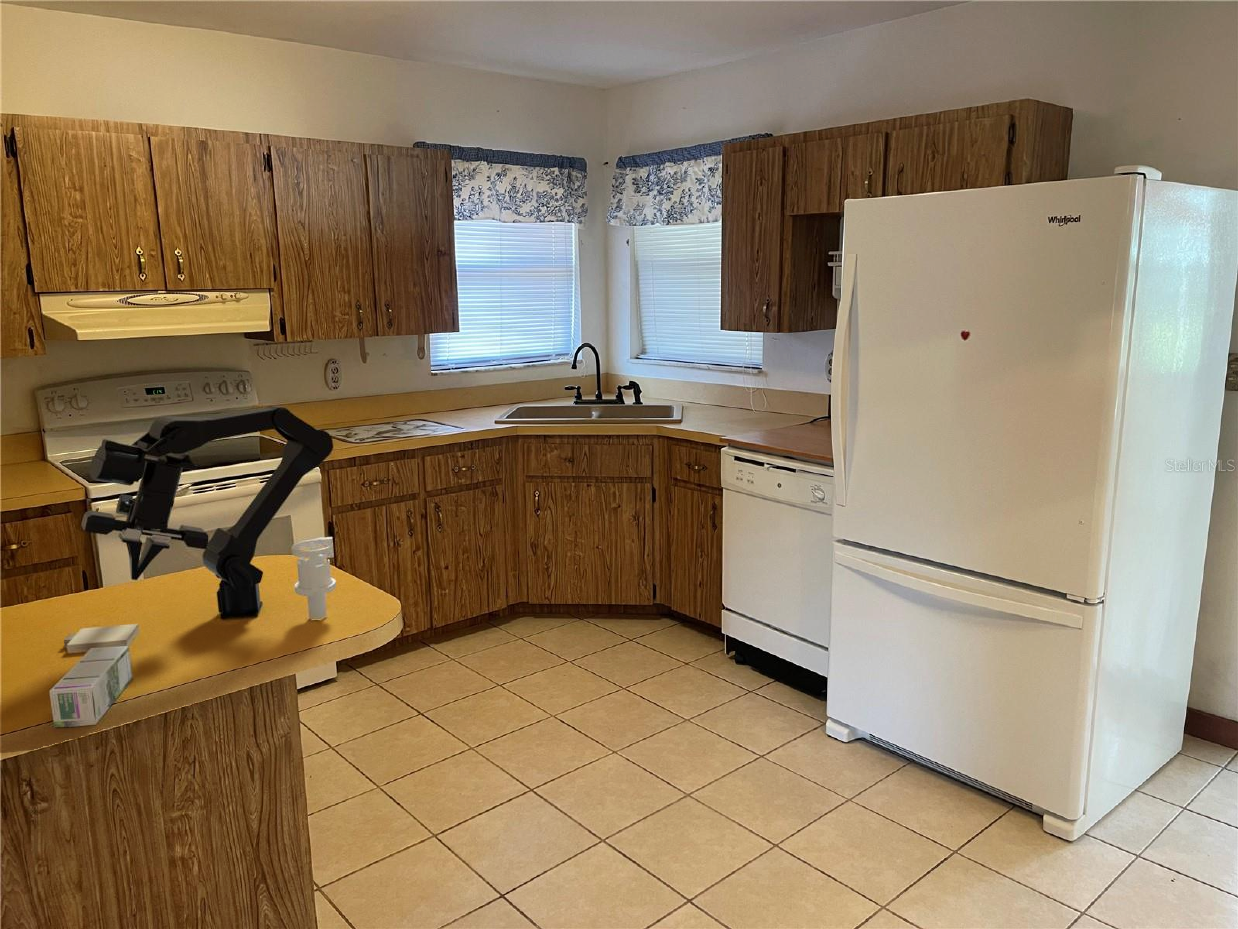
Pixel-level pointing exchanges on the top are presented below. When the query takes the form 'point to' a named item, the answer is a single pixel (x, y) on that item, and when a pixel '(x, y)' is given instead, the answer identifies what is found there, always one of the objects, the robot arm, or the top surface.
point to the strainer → (314, 574)
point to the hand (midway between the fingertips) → (133, 579)
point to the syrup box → (91, 686)
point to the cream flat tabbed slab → (101, 637)
